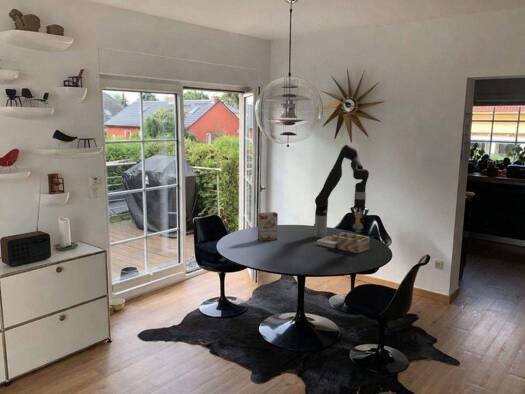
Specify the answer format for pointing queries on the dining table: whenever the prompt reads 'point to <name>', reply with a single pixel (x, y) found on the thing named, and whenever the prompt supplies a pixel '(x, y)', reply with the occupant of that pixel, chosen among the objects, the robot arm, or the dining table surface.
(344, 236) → the chip
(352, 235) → the chip
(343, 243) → the channel block
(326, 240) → the chip tray
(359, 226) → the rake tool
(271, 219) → the cracker box
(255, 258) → the dining table surface
